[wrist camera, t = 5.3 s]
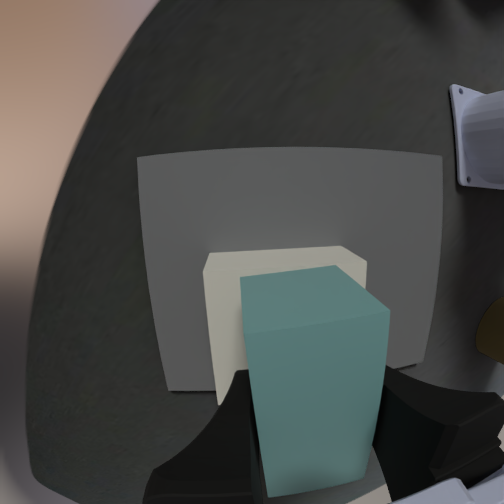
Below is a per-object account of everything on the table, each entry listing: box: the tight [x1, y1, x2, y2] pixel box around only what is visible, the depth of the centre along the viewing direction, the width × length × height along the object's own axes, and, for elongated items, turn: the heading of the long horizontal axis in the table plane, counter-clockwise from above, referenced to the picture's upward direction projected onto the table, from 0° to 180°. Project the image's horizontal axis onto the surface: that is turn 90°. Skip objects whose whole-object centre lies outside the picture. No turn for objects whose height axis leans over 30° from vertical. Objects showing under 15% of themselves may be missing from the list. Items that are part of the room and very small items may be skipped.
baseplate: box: [137, 147, 443, 391], centre depth 19 cm, size 20×16×1 cm
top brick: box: [240, 265, 390, 498], centre depth 11 cm, size 4×8×5 cm, turn 6°
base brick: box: [203, 246, 367, 405], centre depth 17 cm, size 8×8×4 cm
